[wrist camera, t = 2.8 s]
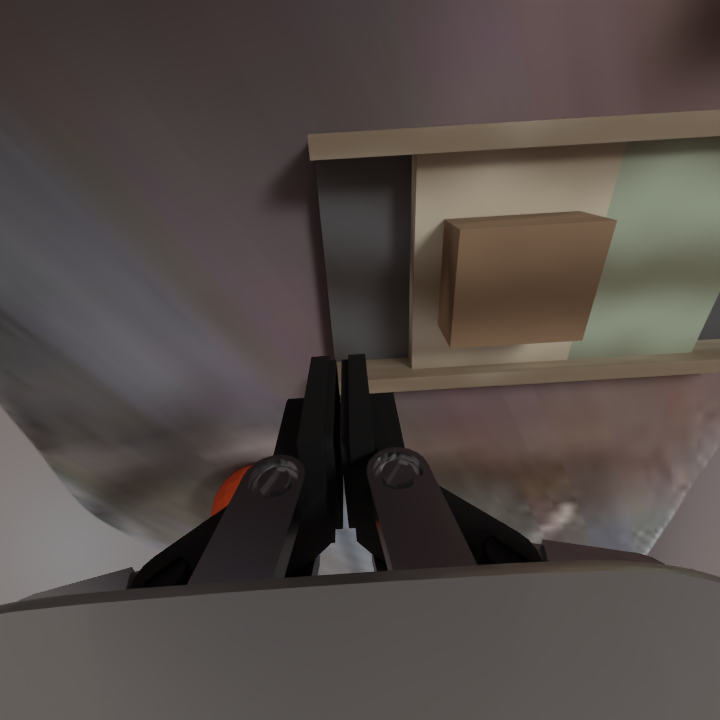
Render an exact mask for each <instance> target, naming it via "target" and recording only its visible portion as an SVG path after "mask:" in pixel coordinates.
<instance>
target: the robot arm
mask: <svg viewBox="0 0 720 720" xmlns="http://www.w3.org/2000/svg"><path fill="white" fill-rule="evenodd" d="M343 475H344V485H345V495H346V504H347V514H348V523H349V528H356V536H357V542H359V543H360V544H361V545H362V546H363V547H364V548H366V549H367V550H368V551H369V552H370V553H372V563H373V567H374V572H364V573H349V574H334V575H319V576H317V575H318V571H319V566H320V553H321V552H322V551H323V550H325V549H326V548H327V547H328V546H329V545H330V544H331V543H335V529H343ZM0 720H720V577H718V576H715V575H711V574H708V573H704V572H700V571H696V570H693V569H688V568H682V567H676V566H670V565H665V564H664V563H662V562H660V561H658V560H656V559H654V558H652V557H649V556H646V555H642V554H639V553H633V552H626V551H619V550H612V549H605V548H598V547H592V546H585V545H578V544H571V543H564V542H557V541H550V540H542V543H541V544H535V543H531V542H530V541H529V540H528V539H527V538H525V537H524V536H523V535H521V534H520V533H519V532H517V531H515V530H514V529H512V528H510V527H509V526H507V525H505V524H504V523H502V522H500V521H498V520H497V519H495V518H493V517H492V516H490V515H488V514H487V513H485V512H483V511H481V510H480V509H478V508H476V507H475V506H473V505H471V504H470V503H468V502H466V501H464V500H463V499H461V498H459V497H458V496H456V495H454V494H453V493H451V492H449V491H448V490H446V489H444V488H442V487H441V486H439V485H438V483H437V481H436V479H435V477H434V475H433V473H432V470H431V468H430V466H429V464H428V463H427V461H426V460H425V459H424V457H423V456H421V455H420V454H419V453H417V452H415V451H413V450H410V449H407V448H405V447H404V442H403V438H402V433H401V428H400V423H399V419H398V414H397V409H396V404H395V399H394V395H393V393H392V392H390V393H374V394H369V385H368V376H367V366H366V357H365V354H351V355H348V359H343V360H342V361H341V402H340V392H339V381H338V371H337V362H336V360H330V357H329V356H320V357H312V358H311V363H310V369H309V375H308V380H307V386H306V392H305V398H297V399H288V400H287V402H286V406H285V410H284V414H283V418H282V423H281V427H280V431H279V435H278V439H277V443H276V447H275V451H274V455H273V456H270V457H266V458H263V459H262V460H260V461H258V462H256V463H255V464H253V465H252V466H251V467H250V468H249V469H248V470H247V471H246V473H245V474H244V475H243V477H242V479H241V481H240V483H239V485H238V487H237V489H236V491H235V493H234V495H233V497H232V498H231V500H230V502H229V504H228V505H227V506H226V507H225V508H223V509H222V510H220V511H219V512H217V513H216V514H215V515H213V516H212V517H210V518H209V519H208V520H206V521H205V522H203V523H202V524H200V525H199V526H198V527H196V528H195V529H193V530H192V531H190V532H189V533H188V534H186V535H185V536H183V537H182V538H180V539H179V540H178V541H176V542H175V543H173V544H172V545H170V546H169V547H168V548H166V549H165V550H163V551H162V552H160V553H159V554H158V555H156V556H155V557H154V558H153V559H151V560H150V561H149V562H148V563H146V564H145V565H144V566H143V567H142V569H141V570H140V571H136V572H135V571H134V570H133V568H132V567H130V568H127V569H123V570H120V571H116V572H113V573H109V574H105V575H102V576H98V577H94V578H91V579H87V580H83V581H80V582H76V583H73V584H69V585H65V586H62V587H58V588H55V589H51V590H48V591H44V592H40V593H36V594H33V595H31V596H28V597H26V598H24V599H21V600H19V601H17V602H13V603H8V604H3V605H0Z"/></svg>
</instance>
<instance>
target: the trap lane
mask: <svg viewBox="0 0 720 720" xmlns="http://www.w3.org/2000/svg"><path fill="white" fill-rule="evenodd" d="M307 137H308V146H309V155H310V161H311V160H315V169H316V179H317V189H318V199H319V209H320V219H321V229H322V239H323V249H324V259H325V268H326V278H327V288H328V298H329V308H330V318H331V328H332V338H333V348H334V358H335V360H336V362H337V371H338V381H339V392H340V395H341V361H342V360H343V359H348V355H351V354H365V357H366V366H367V376H368V385H369V393H384V392H401V391H417V390H434V389H451V388H468V387H484V386H501V385H518V384H535V383H551V382H568V381H585V380H602V379H619V378H635V377H652V376H669V375H686V374H702V373H719V372H720V110H705V111H688V112H672V113H655V114H638V115H622V116H605V117H588V118H572V119H555V120H539V121H522V122H505V123H489V124H472V125H455V126H439V127H422V128H405V129H389V130H372V131H355V132H339V133H322V134H307ZM570 211H582V212H586V213H590V214H594V215H598V216H602V217H606V218H610V219H614V220H617V223H616V226H615V230H614V233H613V237H612V240H611V244H610V247H609V251H608V254H607V257H606V261H605V264H604V268H603V271H602V275H601V278H600V282H599V285H598V288H597V292H596V295H595V299H594V302H593V306H592V309H591V313H590V316H589V319H588V323H587V326H586V330H585V333H584V337H583V340H582V341H567V342H551V343H534V344H517V345H500V346H484V347H467V348H450V347H449V345H448V344H447V342H446V340H445V338H444V336H443V334H442V332H441V330H440V328H439V326H438V313H439V297H440V280H441V264H442V248H443V232H444V219H453V218H470V217H487V216H503V215H520V214H537V213H553V212H570Z"/></svg>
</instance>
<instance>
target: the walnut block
mask: <svg viewBox="0 0 720 720" xmlns="http://www.w3.org/2000/svg"><path fill="white" fill-rule="evenodd" d="M616 223H617V220H614V219H610V218H606V217H602V216H598V215H594V214H590V213H586V212H582V211H570V212H553V213H537V214H520V215H503V216H487V217H470V218H453V219H444V232H443V248H442V264H441V280H440V297H439V313H438V326H439V328H440V330H441V332H442V334H443V336H444V338H445V340H446V342H447V344H448V345H449V347H450V348H467V347H484V346H500V345H517V344H534V343H551V342H567V341H582V340H583V337H584V333H585V330H586V326H587V323H588V319H589V316H590V313H591V309H592V306H593V302H594V299H595V295H596V292H597V288H598V285H599V282H600V278H601V275H602V271H603V268H604V264H605V261H606V257H607V254H608V251H609V247H610V244H611V240H612V237H613V233H614V230H615V226H616Z"/></svg>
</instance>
